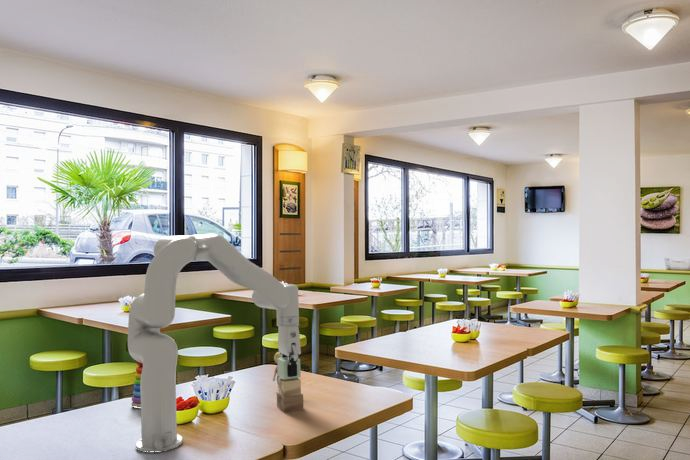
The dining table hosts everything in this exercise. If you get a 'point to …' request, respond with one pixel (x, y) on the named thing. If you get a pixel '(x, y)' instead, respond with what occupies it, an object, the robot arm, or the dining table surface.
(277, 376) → the toy
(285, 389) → the tower top
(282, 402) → the tower base
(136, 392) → the stacking toy
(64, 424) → the dining table surface
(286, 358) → the green cube
